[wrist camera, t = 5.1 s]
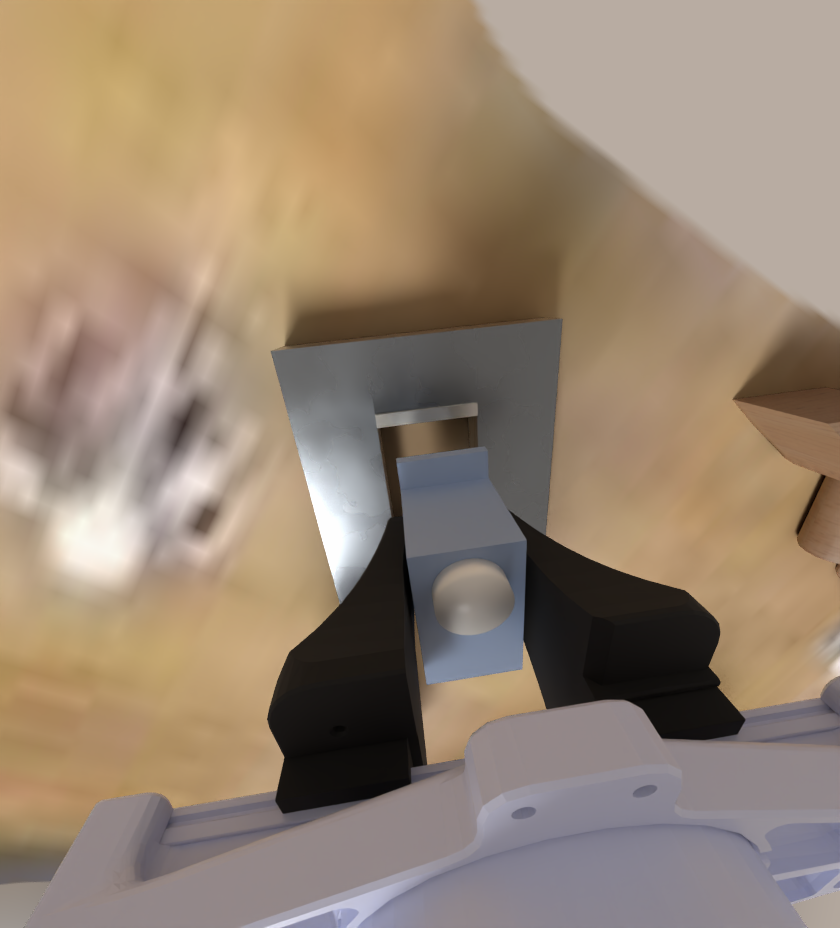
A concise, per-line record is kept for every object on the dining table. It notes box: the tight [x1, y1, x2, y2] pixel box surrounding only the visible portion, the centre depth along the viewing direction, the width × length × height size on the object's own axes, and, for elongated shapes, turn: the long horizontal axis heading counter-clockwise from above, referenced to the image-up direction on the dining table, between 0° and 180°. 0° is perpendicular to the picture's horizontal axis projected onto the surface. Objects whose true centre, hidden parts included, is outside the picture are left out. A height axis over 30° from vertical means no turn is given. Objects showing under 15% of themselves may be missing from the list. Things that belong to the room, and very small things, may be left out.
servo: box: [396, 446, 527, 685], centre depth 12 cm, size 7×3×7 cm, turn 6°
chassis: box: [271, 318, 562, 604], centre depth 17 cm, size 14×12×2 cm
